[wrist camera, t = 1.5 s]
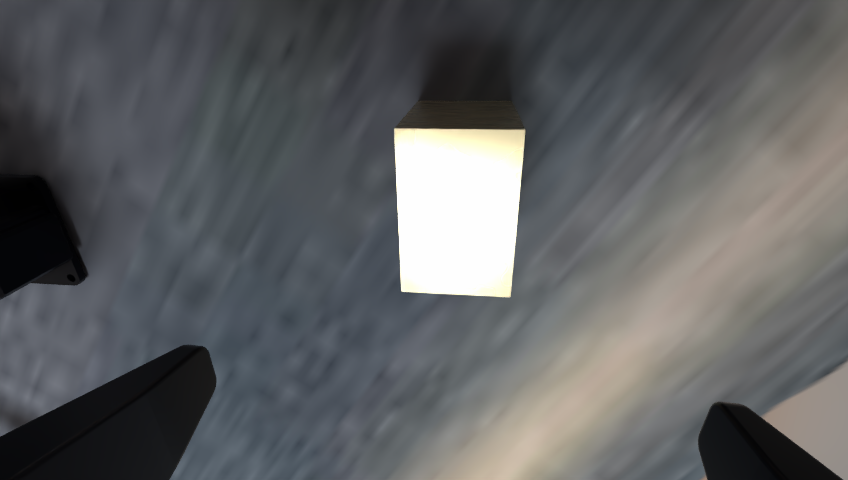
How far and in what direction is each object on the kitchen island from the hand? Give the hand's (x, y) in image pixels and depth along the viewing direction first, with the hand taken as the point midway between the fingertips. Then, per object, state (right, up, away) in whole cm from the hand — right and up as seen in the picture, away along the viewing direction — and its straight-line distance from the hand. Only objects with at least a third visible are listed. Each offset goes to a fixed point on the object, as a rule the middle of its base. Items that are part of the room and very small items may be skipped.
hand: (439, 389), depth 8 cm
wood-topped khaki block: (+2, +6, +12) cm, 14 cm away
